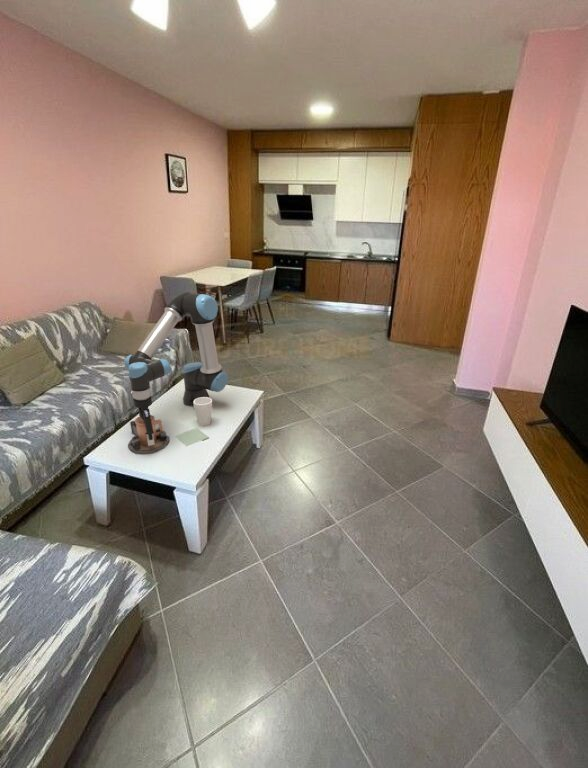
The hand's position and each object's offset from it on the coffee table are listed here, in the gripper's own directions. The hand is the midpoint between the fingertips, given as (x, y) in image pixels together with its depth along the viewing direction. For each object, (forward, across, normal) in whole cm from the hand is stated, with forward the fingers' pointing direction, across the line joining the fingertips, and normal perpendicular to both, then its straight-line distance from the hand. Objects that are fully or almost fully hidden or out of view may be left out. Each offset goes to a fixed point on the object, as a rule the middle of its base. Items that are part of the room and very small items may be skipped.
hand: (148, 438), depth 169 cm
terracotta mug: (+3, -2, +1) cm, 4 cm away
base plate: (+4, 0, 0) cm, 4 cm away
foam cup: (+4, -7, +29) cm, 30 cm away
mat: (+4, +4, +19) cm, 20 cm away
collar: (+3, -3, -1) cm, 4 cm away
